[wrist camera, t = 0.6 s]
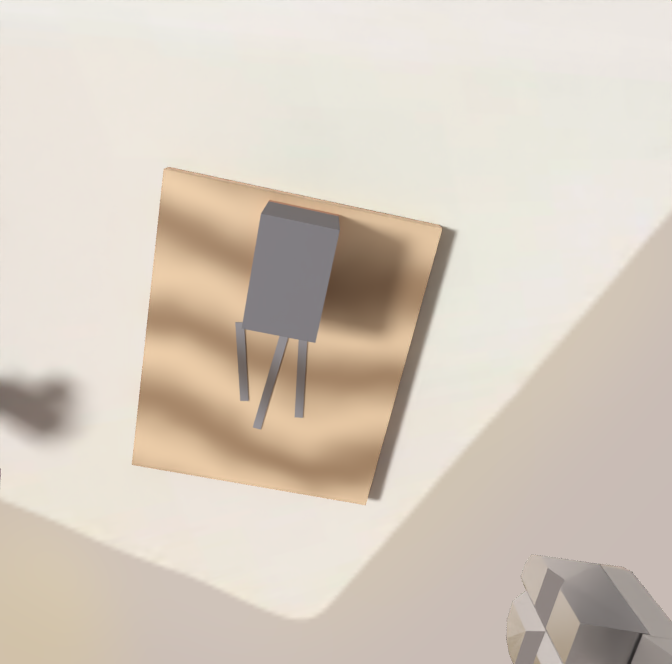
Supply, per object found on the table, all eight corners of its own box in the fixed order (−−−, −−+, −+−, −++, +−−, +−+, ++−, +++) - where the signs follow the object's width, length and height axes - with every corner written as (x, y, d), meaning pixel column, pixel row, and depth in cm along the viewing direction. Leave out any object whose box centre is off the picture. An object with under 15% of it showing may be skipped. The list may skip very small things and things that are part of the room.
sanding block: (269, 199, 38) (260, 213, 34) (338, 214, 39) (339, 230, 34) (251, 302, 41) (241, 328, 36) (317, 315, 41) (315, 342, 36)
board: (168, 167, 39) (163, 169, 37) (439, 224, 40) (442, 228, 39) (136, 455, 46) (131, 465, 45) (364, 495, 48) (365, 505, 47)
